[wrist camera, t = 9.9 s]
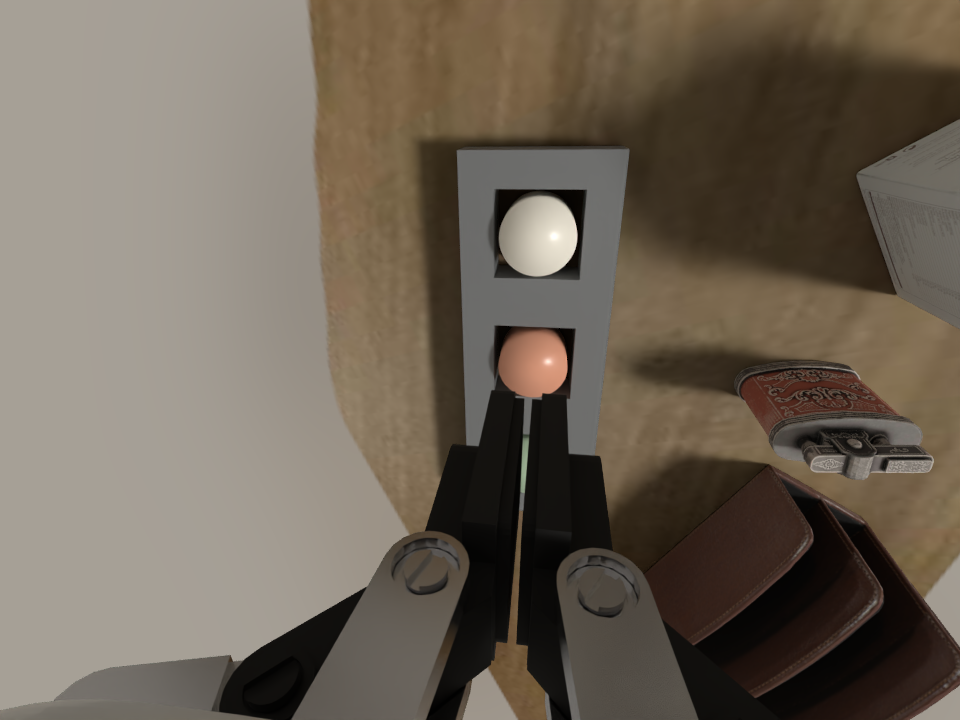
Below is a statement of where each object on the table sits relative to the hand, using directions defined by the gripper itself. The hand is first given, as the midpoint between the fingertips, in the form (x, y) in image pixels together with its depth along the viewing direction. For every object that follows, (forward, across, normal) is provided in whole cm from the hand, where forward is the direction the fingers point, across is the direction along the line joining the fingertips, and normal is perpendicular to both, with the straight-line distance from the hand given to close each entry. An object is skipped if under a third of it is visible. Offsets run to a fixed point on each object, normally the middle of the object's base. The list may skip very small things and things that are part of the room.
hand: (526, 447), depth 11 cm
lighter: (+25, -19, +11) cm, 33 cm away
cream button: (+24, 0, 0) cm, 24 cm away
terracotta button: (+24, 0, +9) cm, 26 cm away
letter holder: (+25, -18, +30) cm, 43 cm away
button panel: (+25, 0, +9) cm, 27 cm away
